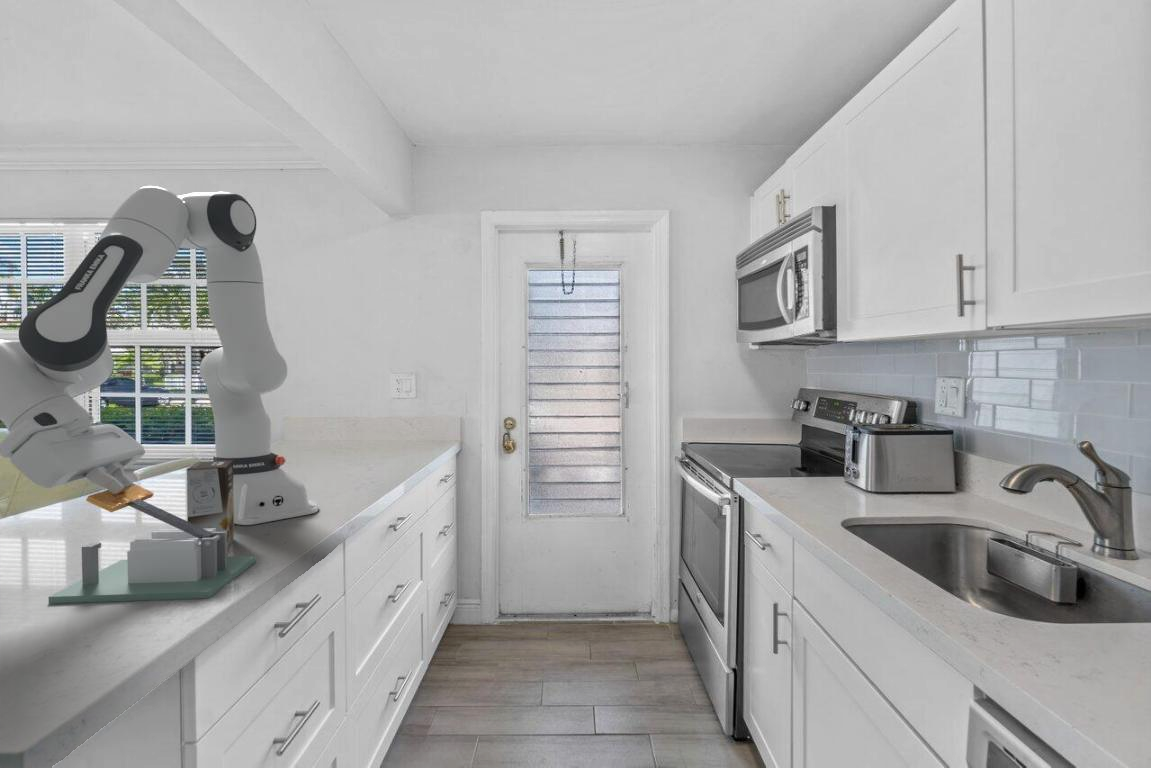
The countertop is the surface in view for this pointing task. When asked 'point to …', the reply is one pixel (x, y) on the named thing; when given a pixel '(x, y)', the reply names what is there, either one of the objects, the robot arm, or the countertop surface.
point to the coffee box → (211, 496)
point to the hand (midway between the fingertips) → (124, 489)
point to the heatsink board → (148, 590)
